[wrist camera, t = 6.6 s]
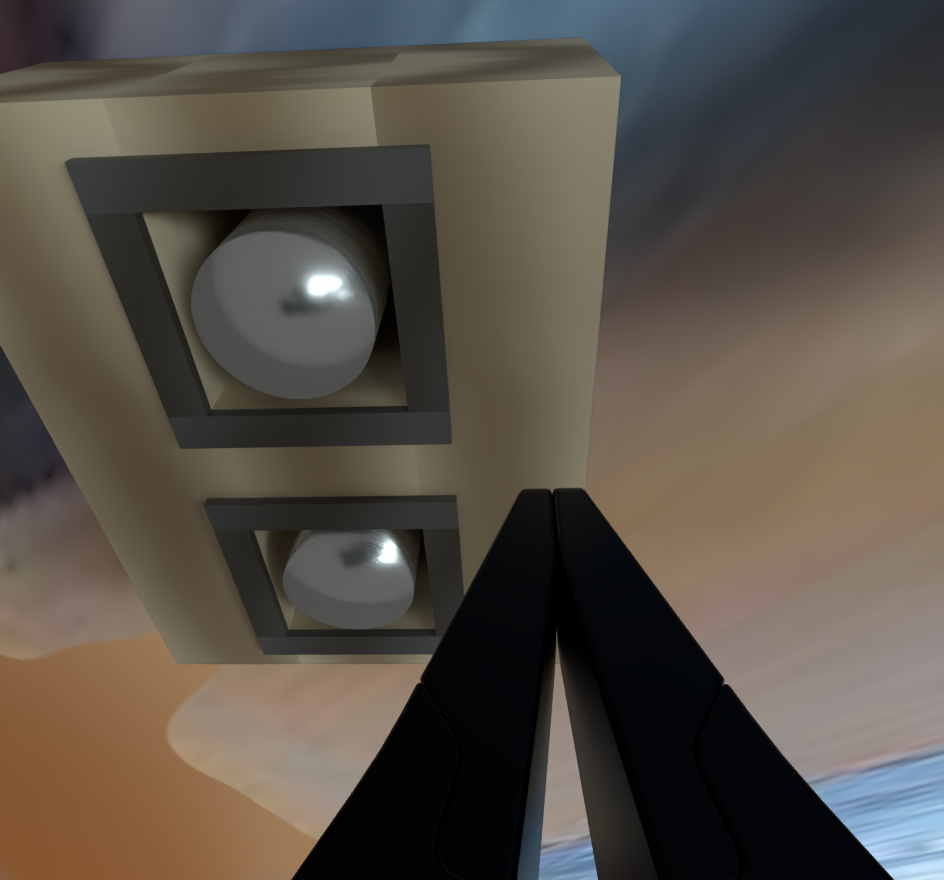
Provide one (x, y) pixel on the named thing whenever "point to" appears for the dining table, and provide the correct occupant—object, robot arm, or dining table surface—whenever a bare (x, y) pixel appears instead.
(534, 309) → the jig block
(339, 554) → the peg
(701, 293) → the dining table surface
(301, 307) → the peg
